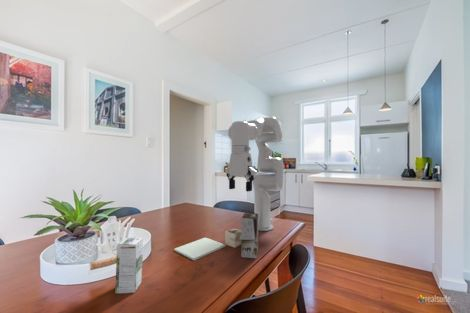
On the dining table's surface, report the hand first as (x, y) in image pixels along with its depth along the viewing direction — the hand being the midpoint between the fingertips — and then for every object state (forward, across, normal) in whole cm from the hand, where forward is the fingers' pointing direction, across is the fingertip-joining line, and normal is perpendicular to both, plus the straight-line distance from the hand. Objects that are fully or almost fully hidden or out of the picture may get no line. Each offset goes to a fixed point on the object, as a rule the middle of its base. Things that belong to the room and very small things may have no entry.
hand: (240, 189), depth 88 cm
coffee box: (+27, -3, -3) cm, 28 cm away
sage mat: (+27, +16, +9) cm, 33 cm away
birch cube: (+27, +9, -6) cm, 29 cm away
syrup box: (+27, +9, +42) cm, 50 cm away
